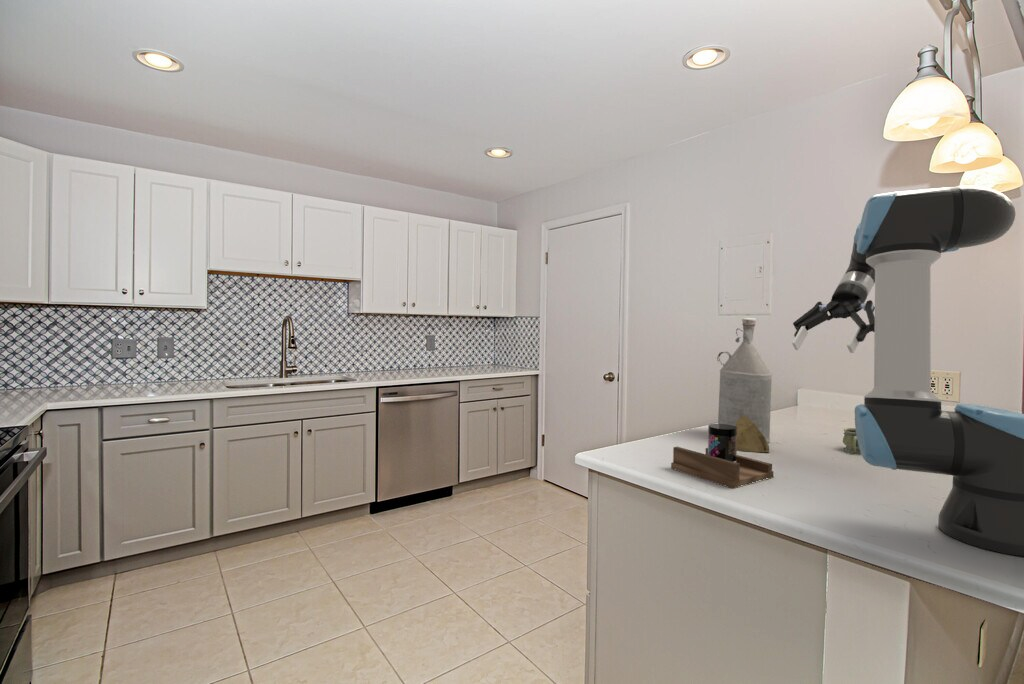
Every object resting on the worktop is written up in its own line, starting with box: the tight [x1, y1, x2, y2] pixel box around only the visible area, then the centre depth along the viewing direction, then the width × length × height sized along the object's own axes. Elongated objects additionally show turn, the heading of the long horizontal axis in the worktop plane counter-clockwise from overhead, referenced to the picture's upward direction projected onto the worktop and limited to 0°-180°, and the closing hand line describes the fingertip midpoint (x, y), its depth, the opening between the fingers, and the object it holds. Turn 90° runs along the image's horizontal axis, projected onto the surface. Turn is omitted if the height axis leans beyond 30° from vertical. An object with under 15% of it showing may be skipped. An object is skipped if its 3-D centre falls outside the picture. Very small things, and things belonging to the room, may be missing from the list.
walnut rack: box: [670, 446, 775, 489], centre depth 126 cm, size 16×18×6 cm
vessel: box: [842, 427, 861, 455], centre depth 148 cm, size 12×9×6 cm
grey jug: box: [716, 317, 773, 444], centre depth 162 cm, size 13×17×40 cm
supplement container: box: [707, 423, 737, 462], centre depth 126 cm, size 7×7×10 cm
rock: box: [735, 416, 771, 453], centre depth 148 cm, size 11×9×10 cm
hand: (821, 348), depth 129 cm, fingers open, 13 cm apart
